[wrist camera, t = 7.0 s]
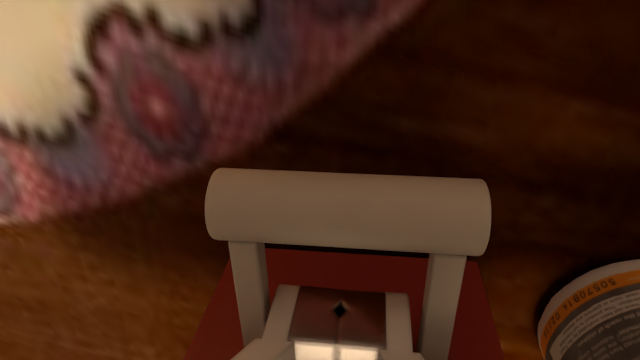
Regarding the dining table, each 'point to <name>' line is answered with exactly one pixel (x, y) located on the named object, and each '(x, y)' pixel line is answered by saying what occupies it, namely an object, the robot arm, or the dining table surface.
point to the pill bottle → (594, 316)
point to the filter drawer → (346, 268)
